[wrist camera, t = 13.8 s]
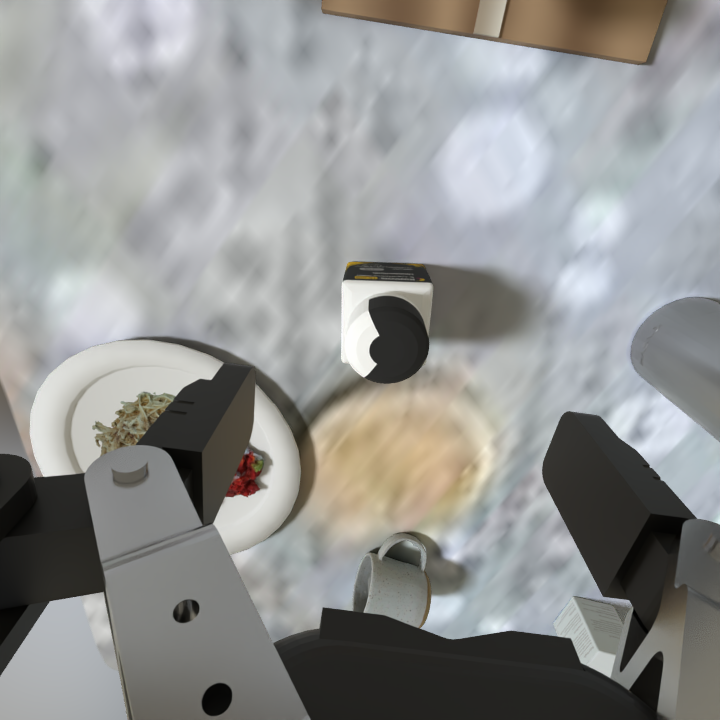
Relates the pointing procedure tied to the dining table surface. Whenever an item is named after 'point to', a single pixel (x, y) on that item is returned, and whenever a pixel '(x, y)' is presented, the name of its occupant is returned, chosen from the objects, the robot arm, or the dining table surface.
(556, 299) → the dining table surface
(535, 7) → the post base
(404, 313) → the medicine bottle
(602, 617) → the product box
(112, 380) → the plated food
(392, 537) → the ceramic mug
